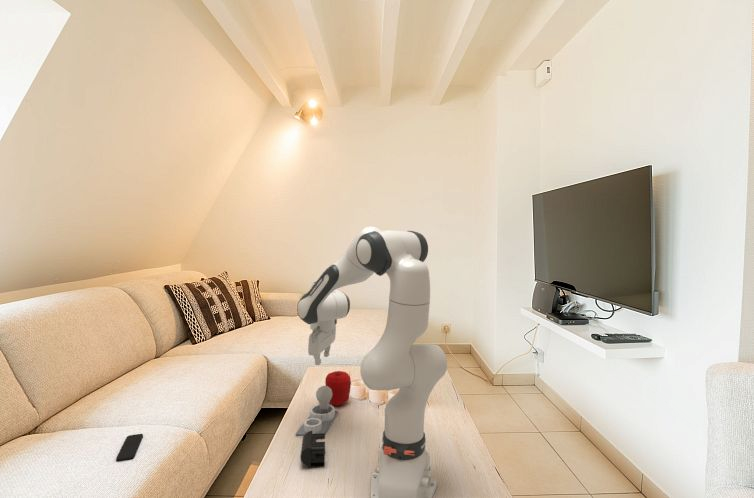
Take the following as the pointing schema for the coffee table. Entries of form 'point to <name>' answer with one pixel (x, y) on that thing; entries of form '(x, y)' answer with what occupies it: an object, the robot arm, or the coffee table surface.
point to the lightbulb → (324, 398)
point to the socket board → (318, 421)
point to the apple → (338, 387)
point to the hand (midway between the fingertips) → (322, 360)
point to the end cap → (313, 450)
